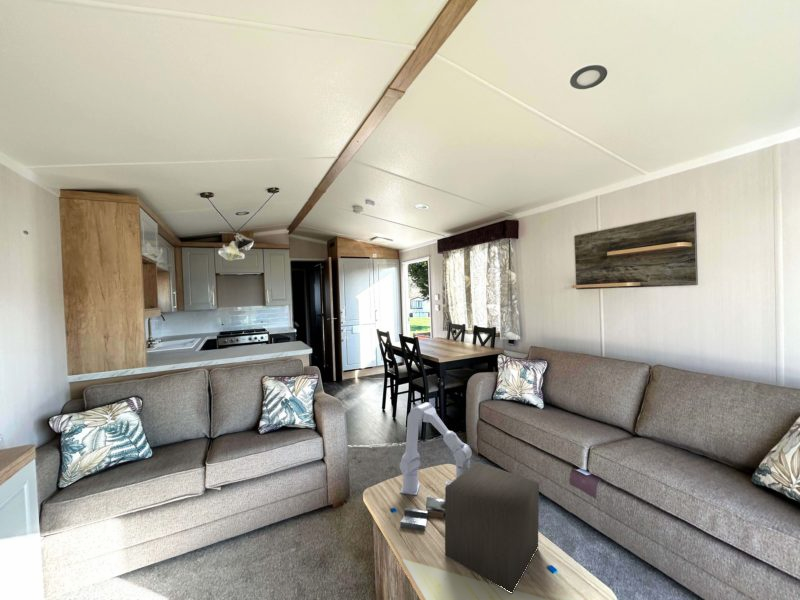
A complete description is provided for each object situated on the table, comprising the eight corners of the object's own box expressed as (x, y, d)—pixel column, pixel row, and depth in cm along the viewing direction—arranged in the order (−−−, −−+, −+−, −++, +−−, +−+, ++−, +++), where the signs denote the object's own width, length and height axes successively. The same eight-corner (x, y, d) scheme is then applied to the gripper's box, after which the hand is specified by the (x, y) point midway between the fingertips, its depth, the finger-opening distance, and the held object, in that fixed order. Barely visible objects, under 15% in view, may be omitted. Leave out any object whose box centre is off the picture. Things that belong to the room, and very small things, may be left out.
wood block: (477, 519, 143) (477, 461, 142) (538, 548, 127) (538, 482, 126) (445, 555, 124) (445, 487, 123) (512, 594, 107) (512, 516, 107)
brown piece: (429, 503, 153) (429, 499, 153) (444, 505, 152) (444, 501, 152) (426, 515, 145) (426, 511, 145) (443, 518, 144) (443, 513, 144)
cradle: (404, 513, 147) (404, 508, 147) (427, 516, 145) (427, 511, 145) (400, 527, 138) (400, 521, 138) (424, 530, 136) (424, 525, 136)
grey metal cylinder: (426, 513, 147) (426, 501, 146) (427, 505, 152) (427, 494, 152) (451, 517, 144) (451, 505, 144) (452, 509, 150) (452, 497, 149)
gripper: (445, 477, 143) (445, 509, 144) (480, 481, 140) (480, 514, 140) (446, 469, 150) (446, 499, 150) (480, 472, 147) (480, 503, 147)
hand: (462, 505), depth 146 cm, fingers closed
